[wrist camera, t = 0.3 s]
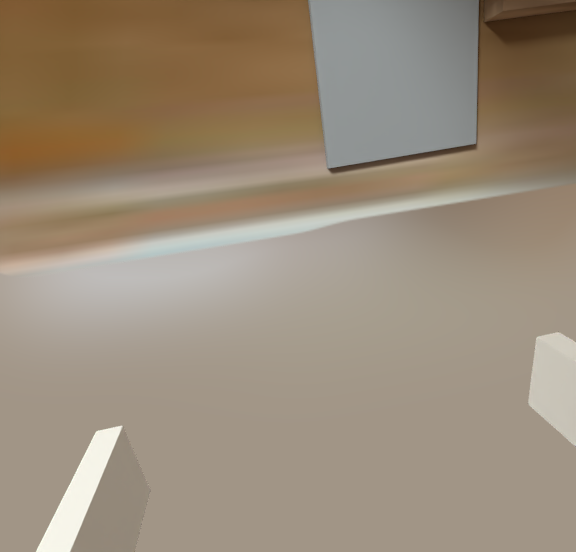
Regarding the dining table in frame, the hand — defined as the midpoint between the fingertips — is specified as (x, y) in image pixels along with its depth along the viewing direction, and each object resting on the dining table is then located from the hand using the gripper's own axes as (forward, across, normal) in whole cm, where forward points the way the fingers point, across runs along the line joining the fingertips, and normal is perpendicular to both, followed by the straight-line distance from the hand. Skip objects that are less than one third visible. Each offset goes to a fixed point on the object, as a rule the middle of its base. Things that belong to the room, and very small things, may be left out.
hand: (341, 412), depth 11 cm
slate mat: (+28, +15, +13) cm, 34 cm away
